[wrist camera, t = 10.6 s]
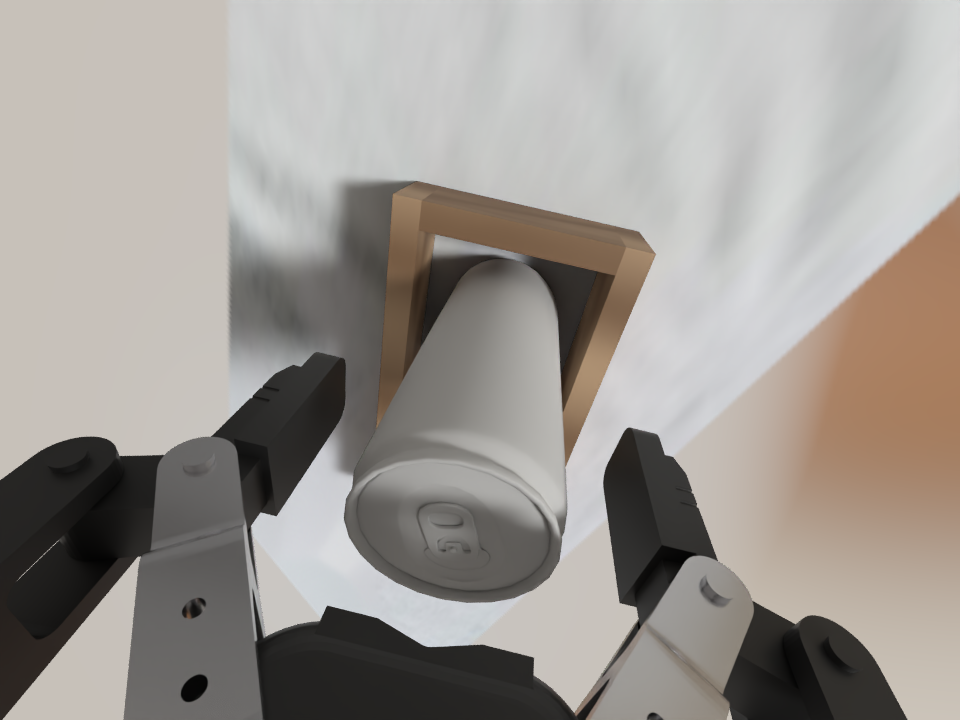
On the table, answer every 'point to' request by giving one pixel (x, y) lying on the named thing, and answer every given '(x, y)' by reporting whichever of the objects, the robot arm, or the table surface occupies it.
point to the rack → (519, 231)
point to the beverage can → (471, 448)
